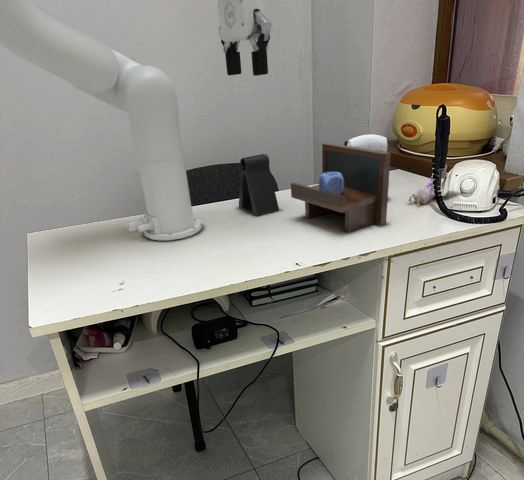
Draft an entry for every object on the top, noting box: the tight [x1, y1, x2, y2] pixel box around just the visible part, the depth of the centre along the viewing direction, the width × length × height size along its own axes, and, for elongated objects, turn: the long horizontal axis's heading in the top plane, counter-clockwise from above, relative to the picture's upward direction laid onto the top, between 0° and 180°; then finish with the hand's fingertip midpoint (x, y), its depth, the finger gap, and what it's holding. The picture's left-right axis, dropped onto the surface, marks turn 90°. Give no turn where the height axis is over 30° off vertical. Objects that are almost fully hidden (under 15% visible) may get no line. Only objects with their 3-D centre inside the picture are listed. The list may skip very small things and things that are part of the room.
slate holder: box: [290, 142, 391, 233], centre depth 101 cm, size 11×18×14 cm, turn 34°
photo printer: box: [346, 133, 388, 152], centre depth 122 cm, size 10×4×12 cm, turn 98°
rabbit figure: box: [408, 174, 444, 207], centre depth 111 cm, size 6×6×15 cm
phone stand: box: [238, 153, 280, 217], centre depth 113 cm, size 9×6×12 cm, turn 30°
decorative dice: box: [318, 172, 344, 195], centre depth 100 cm, size 4×4×4 cm
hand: (247, 74), depth 98 cm, fingers open, 9 cm apart
